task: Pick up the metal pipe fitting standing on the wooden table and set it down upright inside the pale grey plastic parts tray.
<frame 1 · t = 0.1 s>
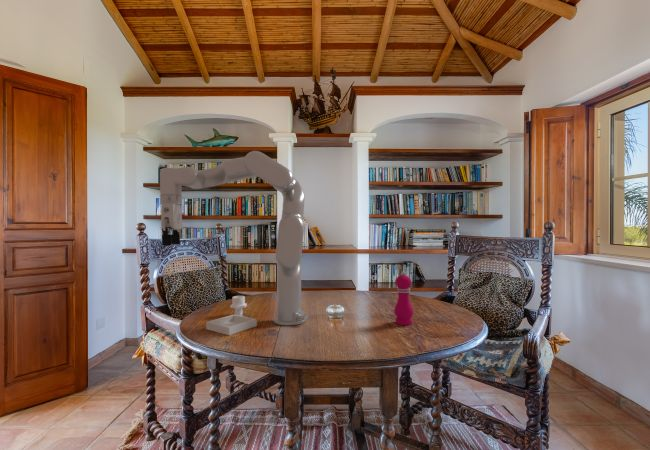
hand: (171, 244, 131), 31 cm above the table, tool pointing down, fingers open, 9 cm apart
pepper mill: (403, 323, 131), on the table
pipe fitting: (238, 316, 144), on the table
parts tray: (231, 327, 127), on the table
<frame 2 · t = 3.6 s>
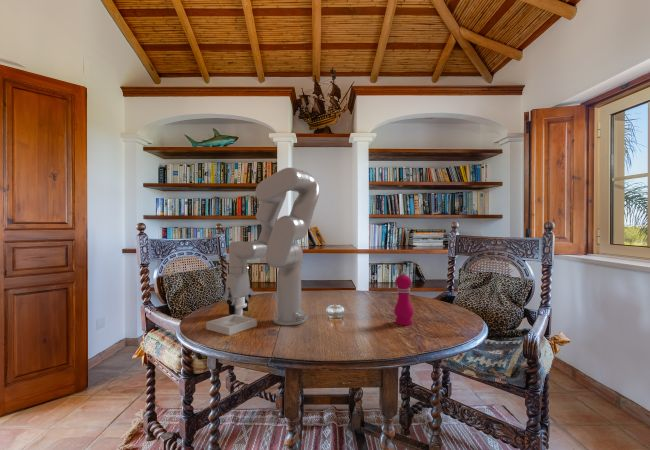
hand: (238, 312, 144), 1 cm above the table, tool pointing down, fingers closed on pipe fitting, 6 cm apart
pipe fitting: (238, 316, 144), on the table, touching gripper
everything else where it was.
when the fingers open (4 cm above the table, at t = 10.5 s): pipe fitting drops 1 cm, resting on parts tray.
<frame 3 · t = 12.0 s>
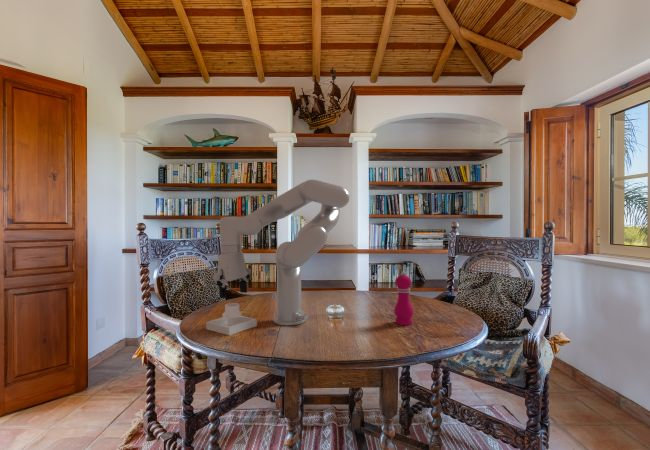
hand: (233, 295, 128), 12 cm above the table, tool pointing down, fingers open, 9 cm apart
pipe fitting: (232, 326, 128), point 1 cm above the table, touching parts tray
everything else where it was.
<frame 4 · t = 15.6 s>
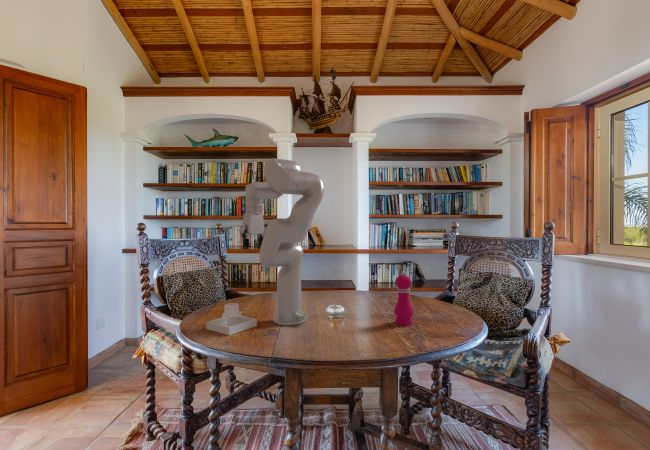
hand: (254, 246, 160), 28 cm above the table, tool pointing down, fingers open, 9 cm apart
nothing on the table moved.
at the end: pipe fitting inside the target area on the parts tray (0.1 cm from its centre), point 0.4 cm above the parts tray's base; pipe fitting tilted 1°; the gripper is holding nothing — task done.
